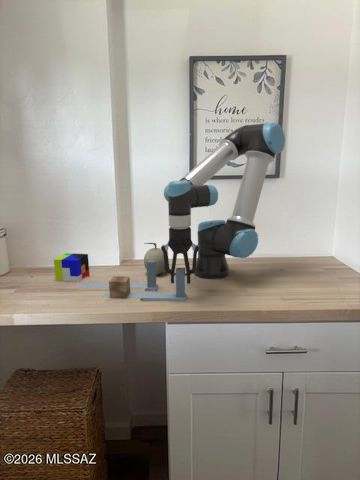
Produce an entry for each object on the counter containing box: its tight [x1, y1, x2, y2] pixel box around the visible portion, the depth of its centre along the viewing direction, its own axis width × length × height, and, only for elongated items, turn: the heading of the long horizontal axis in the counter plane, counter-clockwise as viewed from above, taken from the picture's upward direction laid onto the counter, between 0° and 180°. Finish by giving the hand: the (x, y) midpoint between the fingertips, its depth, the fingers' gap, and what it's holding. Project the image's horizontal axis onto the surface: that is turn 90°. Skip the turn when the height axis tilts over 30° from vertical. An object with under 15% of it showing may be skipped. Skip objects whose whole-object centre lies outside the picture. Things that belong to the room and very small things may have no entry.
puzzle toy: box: [53, 252, 90, 283], centre depth 146 cm, size 10×10×10 cm
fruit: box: [143, 242, 165, 276], centre depth 152 cm, size 10×12×15 cm
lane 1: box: [130, 260, 159, 292], centre depth 134 cm, size 12×5×11 cm, turn 85°
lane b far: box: [78, 282, 109, 289], centre depth 137 cm, size 15×5×1 cm, turn 85°
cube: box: [108, 275, 131, 299], centre depth 126 cm, size 6×6×6 cm
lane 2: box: [102, 267, 188, 302], centre depth 125 cm, size 30×5×11 cm, turn 85°
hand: (180, 291), depth 124 cm, fingers closed on lane 2, 3 cm apart
